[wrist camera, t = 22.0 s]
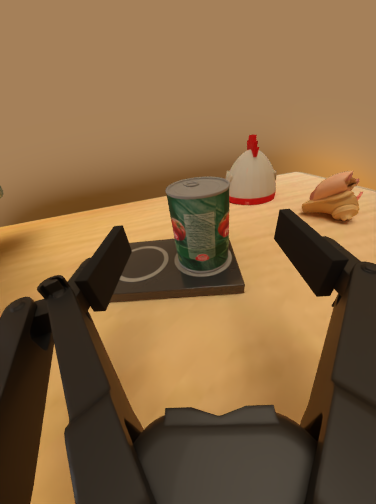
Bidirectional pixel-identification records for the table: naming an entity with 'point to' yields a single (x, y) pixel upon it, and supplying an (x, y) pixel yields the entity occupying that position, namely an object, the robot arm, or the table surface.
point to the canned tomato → (200, 222)
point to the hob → (172, 275)
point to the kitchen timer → (251, 177)
